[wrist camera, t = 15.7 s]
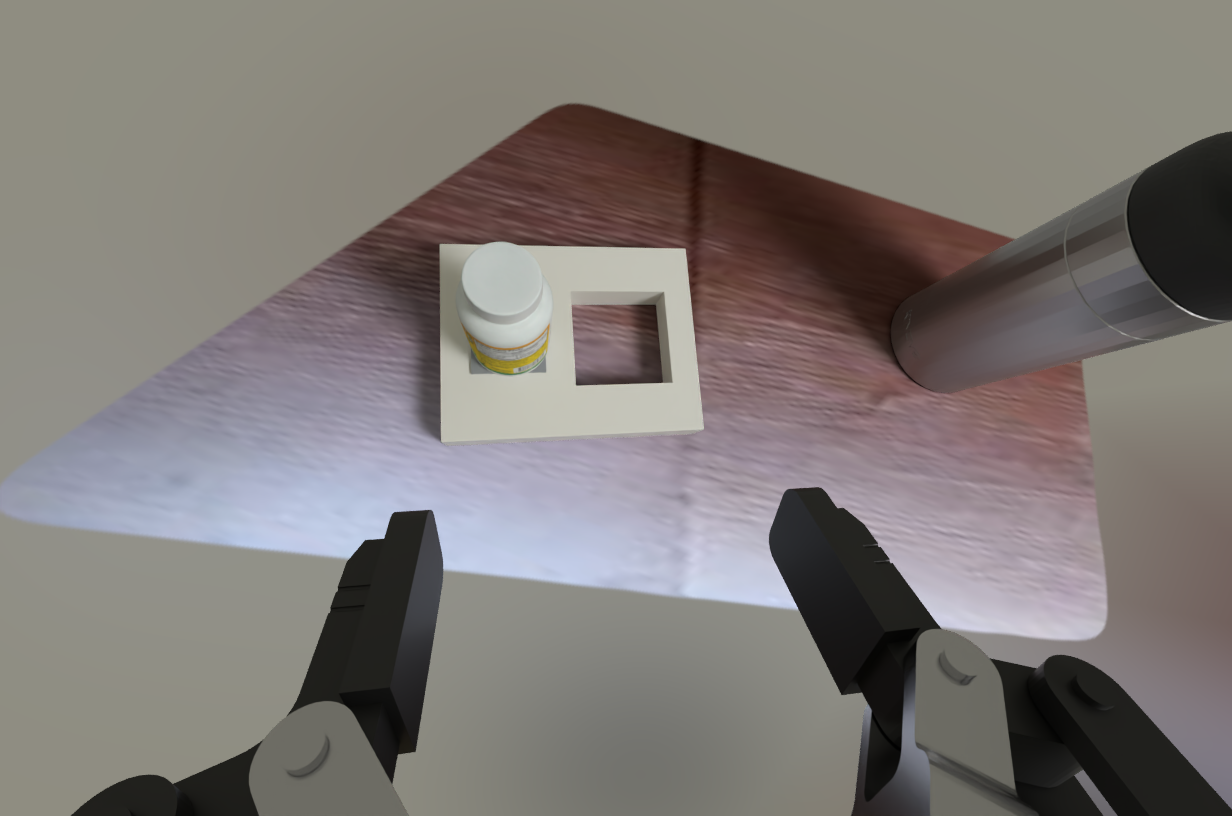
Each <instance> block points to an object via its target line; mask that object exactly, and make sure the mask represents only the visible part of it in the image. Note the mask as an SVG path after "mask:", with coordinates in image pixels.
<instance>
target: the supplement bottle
mask: <svg viewBox="0 0 1232 816" xmlns="http://www.w3.org/2000/svg"><path fill="white" fill-rule="evenodd" d="M456 309H457V313H458V316H459V319H460V321H461V324H462V327H463V330H464V332H465V334H466V337H467V339H468V341H469V344H470V347H471V349H472V351H473V353H474V355H475V357H476V358H477V360H478V361H479V363H480V364H481V365H482V366H483V367H484V368H486V369H487V370H489V371H491V372H492V373H495V374H498V375H502V376H509V377H512V376H520V375H523V374H526V373H528V372H530V371H532V370H534V369H535V368H536V367H537V366H539V365H540V363H541V362H542V361H543V360H544V358H545V356H546V354H547V352H548V349H549V343H550V334H551V324H552V315H553V295H552V291H551V288H550V285H549V283H548V281H547V280H546V278H545V277H544V275H543V274H542V272H541V269H540V266H539V264H538V263H537V261H536V259H535V258H534V257H533V256H532V255H531V254H530V253H529V252H528V251H527V250H525V249H524V248H522V247H520V246H518V245H516V244H513V243H508V242H492V243H488V244H485V245H482V246H480V247H479V248H477V249H476V250H474V251H473V252H472V253H471V254H470V255H469V256H468V258H467V259H466V261H465V263H464V265H463V268H462V274H461V280H460V282H459V285H458V288H457V291H456Z"/></svg>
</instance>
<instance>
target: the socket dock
mask: <svg viewBox="0 0 1232 816" xmlns="http://www.w3.org/2000/svg"><path fill="white" fill-rule="evenodd" d="M480 246H482V245H468V244H440V363H441V442H442V443H443V444H445V445H446V446H464V445H484V444H504V443H524V442H544V441H564V440H584V439H604V438H624V437H644V436H664V435H684V434H694V433H697V432H699V431H701V430H704V425H703V415H702V406H701V396H700V386H699V376H698V367H697V357H696V347H695V337H694V328H693V318H692V308H691V298H690V288H689V279H688V269H687V259H686V249H670V248H620V247H569V246H520V247H522V248H524V249H525V250H527V251H528V252H529V253H530V254H531V255H532V256H533V257H534V258H535V259H536V261H537V263H538V264H539V266H540V269H541V272H542V274H543V275H544V277H545V278H546V280H547V281H548V283H549V285H550V288H551V291H552V295H553V315H552V324H551V334H550V343H549V349H548V352H547V354H546V356H545V358H544V360H543V361H542V362H541V363H540V365H539V366H537V367H536V368H535V369H534V370H532V371H530V372H528V373H526V374H523V375H520V376H512V377H509V376H502V375H498V374H495V373H492V372H491V371H489V370H487V369H486V368H484V367H483V366H482V365H481V364H480V363H479V361H478V360H477V358H476V357H475V355H474V353H473V351H472V349H471V347H470V344H469V341H468V339H467V337H466V334H465V332H464V330H463V327H462V324H461V321H460V319H459V316H458V313H457V309H456V291H457V288H458V285H459V282H460V280H461V274H462V268H463V265H464V263H465V261H466V259H467V258H468V256H469V255H470V254H471V253H472V252H473V251H474V250H476V249H477V248H479V247H480ZM571 305H656V310H657V321H658V333H659V344H660V355H661V366H662V378H663V383H648V384H615V385H582V386H576V379H575V361H574V344H573V326H572V308H571Z"/></svg>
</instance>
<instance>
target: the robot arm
mask: <svg viewBox="0 0 1232 816" xmlns="http://www.w3.org/2000/svg"><path fill="white" fill-rule="evenodd" d="M1230 321H1232V132H1225V133H1220V134H1216V135H1214V136H1211V137H1208V138H1205V139H1202V140H1200V141H1197V142H1195V143H1193V144H1191V145H1189V146H1187V147H1185V148H1183V149H1181V150H1179V151H1178V152H1176V153H1174V154H1172V155H1170V156H1168V157H1166V158H1165V159H1163V160H1161V161H1159V162H1158V163H1155V164H1154V165H1152V166H1150V167H1148V168H1146V169H1144V170H1143V171H1141V172H1139V173H1137V174H1135V175H1133V176H1131V177H1130V178H1128V179H1126V180H1124V181H1122V182H1120V183H1118V184H1117V185H1115V186H1113V187H1111V188H1109V189H1107V190H1106V191H1104V192H1102V193H1100V194H1098V195H1096V196H1094V197H1093V198H1091V199H1089V200H1088V201H1086V202H1084V203H1082V204H1080V205H1078V206H1076V207H1075V208H1073V209H1071V210H1069V211H1067V212H1065V213H1063V214H1062V215H1060V216H1058V217H1056V218H1054V219H1053V220H1051V221H1049V222H1047V223H1045V224H1043V225H1041V226H1039V227H1038V228H1036V229H1034V230H1032V231H1030V232H1028V233H1027V234H1025V235H1023V236H1021V237H1019V238H1017V239H1015V240H1014V241H1012V242H1010V243H1008V244H1006V245H1004V246H1003V247H1001V248H999V249H997V250H995V251H993V252H991V253H990V254H988V255H986V256H984V257H982V258H980V259H978V260H977V261H975V262H973V263H971V264H969V265H967V266H966V267H964V268H962V269H960V270H958V271H956V272H954V273H953V274H951V275H949V276H947V277H945V278H943V279H941V280H939V281H938V282H936V283H934V284H932V285H930V286H928V287H927V288H925V289H923V290H921V291H919V292H918V293H916V294H914V295H912V296H910V297H908V298H907V299H906V300H905V301H903V302H902V303H901V304H900V306H899V307H898V309H897V310H896V312H895V314H894V317H893V320H892V325H891V342H892V346H893V349H894V353H895V355H896V357H897V359H898V361H899V363H900V365H901V366H902V368H903V369H904V370H905V372H906V373H907V374H908V375H909V376H910V377H911V378H912V379H913V380H914V381H916V382H917V383H919V384H920V385H922V386H923V387H925V388H927V389H930V390H932V391H936V392H941V393H952V392H957V391H961V390H965V389H969V388H973V387H977V386H981V385H985V384H989V383H992V382H997V381H1001V380H1005V379H1009V378H1013V377H1017V376H1021V375H1025V374H1028V373H1032V372H1036V371H1040V370H1044V369H1048V368H1052V367H1056V366H1060V365H1064V364H1067V363H1071V362H1075V361H1079V360H1083V359H1087V358H1091V357H1095V356H1098V355H1102V354H1106V353H1110V352H1114V351H1118V350H1122V349H1126V348H1130V347H1134V346H1137V345H1141V344H1145V343H1149V342H1153V341H1157V340H1161V339H1164V338H1168V337H1172V336H1175V335H1179V334H1183V333H1187V332H1191V331H1194V330H1199V329H1203V328H1207V327H1210V326H1214V325H1218V324H1222V323H1226V322H1230ZM769 545H770V551H771V554H772V557H773V559H774V561H775V563H776V565H777V567H778V569H779V571H780V573H781V575H782V577H783V579H784V581H785V583H786V585H787V587H788V589H789V591H790V593H791V595H792V597H793V599H794V601H795V603H796V605H797V607H798V609H799V611H800V613H801V615H802V617H803V619H804V621H805V623H806V625H807V627H808V629H809V631H810V633H811V635H812V637H813V639H814V641H815V643H816V644H817V647H818V649H819V651H820V653H821V655H822V657H823V659H824V661H825V663H826V665H827V667H828V669H829V671H830V673H831V675H832V677H833V679H834V681H835V683H836V685H837V687H838V689H839V691H840V693H841V695H847V694H854V693H861V692H862V693H863V695H864V697H865V699H866V701H867V703H868V705H867V706H866V708H865V711H864V716H863V726H862V735H861V745H860V755H859V764H858V773H857V782H856V792H855V801H854V806H853V810H852V814H851V816H1103V815H1102V813H1101V812H1100V811H1099V809H1098V808H1097V807H1096V805H1095V804H1094V802H1093V801H1092V800H1091V798H1090V797H1089V795H1088V794H1087V793H1086V791H1085V790H1084V788H1083V787H1082V786H1081V784H1080V783H1079V782H1078V780H1077V779H1076V777H1075V776H1074V775H1075V774H1077V773H1078V772H1080V771H1082V770H1084V771H1085V772H1086V774H1087V775H1088V776H1089V778H1090V779H1091V780H1092V782H1093V783H1094V784H1095V786H1096V787H1097V788H1098V790H1099V791H1100V792H1101V794H1102V795H1103V797H1104V798H1105V799H1106V801H1107V802H1108V803H1109V805H1110V806H1111V807H1112V809H1113V810H1114V811H1115V813H1116V814H1117V815H1118V816H1232V809H1231V808H1230V807H1229V806H1228V805H1227V804H1226V803H1225V802H1224V800H1223V799H1222V798H1221V797H1220V796H1219V795H1218V794H1217V793H1216V791H1215V790H1214V789H1213V788H1212V787H1211V786H1210V785H1209V784H1208V783H1207V782H1206V780H1205V779H1204V778H1203V777H1202V776H1201V775H1200V774H1199V773H1198V772H1197V770H1196V769H1195V768H1194V767H1193V766H1192V765H1191V764H1190V763H1189V762H1188V760H1187V759H1186V758H1185V757H1184V756H1183V755H1182V754H1181V753H1180V752H1179V750H1178V749H1177V748H1176V747H1175V746H1174V745H1173V744H1172V743H1171V742H1170V740H1169V739H1168V738H1167V737H1166V736H1165V735H1164V734H1163V733H1162V732H1161V731H1160V730H1159V728H1158V727H1157V726H1156V725H1155V724H1154V723H1153V722H1152V721H1151V719H1150V718H1149V717H1148V716H1147V715H1146V714H1145V713H1144V712H1143V711H1142V709H1141V708H1140V707H1139V706H1138V705H1137V704H1136V703H1135V702H1134V701H1133V700H1132V698H1131V697H1130V696H1129V695H1128V694H1127V693H1126V692H1125V691H1124V690H1123V689H1122V688H1121V687H1120V686H1119V684H1117V683H1116V682H1115V681H1114V680H1113V679H1112V678H1110V677H1109V676H1108V675H1106V674H1105V673H1104V672H1102V671H1101V670H1099V669H1098V668H1096V667H1095V666H1093V665H1091V664H1089V663H1087V662H1085V661H1083V660H1080V659H1078V658H1075V657H1071V656H1066V655H1055V656H1052V657H1049V658H1048V659H1047V660H1046V661H1045V662H1044V663H1043V664H1041V665H1040V667H1038V668H1032V667H1027V666H1022V665H1018V664H1013V663H1009V662H1004V661H1000V660H995V659H991V658H989V657H988V656H987V655H986V654H985V653H984V652H983V651H982V650H981V649H980V648H978V647H977V646H976V645H974V644H973V643H972V642H971V641H969V640H967V639H966V638H964V637H962V636H960V635H958V634H956V633H953V632H951V631H947V630H943V629H941V628H940V626H939V625H938V624H937V623H936V622H935V620H934V619H933V617H932V616H931V615H930V613H929V612H928V611H927V609H926V608H925V607H924V605H923V604H922V603H921V601H920V600H919V598H918V597H917V596H916V594H915V593H914V592H913V590H912V589H911V588H910V586H909V585H908V584H907V582H906V581H905V579H904V578H903V577H902V575H901V574H900V573H899V571H898V570H897V569H896V567H895V566H894V564H893V563H890V561H889V558H888V556H887V555H886V554H885V552H884V551H883V550H882V548H881V547H878V543H877V541H876V540H875V539H874V537H873V536H872V535H871V533H870V532H869V530H868V529H867V528H866V526H865V525H864V524H863V523H862V522H860V521H859V520H858V519H857V518H855V517H854V516H853V515H852V514H850V513H849V512H848V511H847V510H845V509H844V508H837V507H836V506H835V504H834V503H833V502H832V500H831V499H830V497H829V496H828V494H827V493H826V492H825V491H824V490H823V489H822V488H819V487H814V488H798V489H788V490H786V491H785V493H784V495H783V497H782V500H781V503H780V505H779V508H778V511H777V514H776V516H775V519H774V522H773V524H772V527H771V530H770V534H769ZM442 582H443V557H442V552H441V547H440V542H439V537H438V532H437V527H436V523H435V518H434V514H433V511H432V510H422V511H406V512H394V513H393V514H392V516H391V518H390V521H389V525H388V528H387V531H386V535H385V538H384V539H375V540H365V541H364V542H363V544H362V545H361V546H360V547H359V548H358V550H357V551H356V552H355V553H354V554H353V555H352V557H351V558H350V559H349V560H348V561H347V563H346V566H345V568H344V571H343V574H342V577H341V580H340V582H339V585H338V592H336V594H335V596H334V599H333V602H332V605H331V611H330V613H329V614H328V616H327V619H326V621H325V624H324V627H323V630H322V633H321V636H320V638H319V641H318V644H317V647H316V650H315V652H314V655H313V658H312V661H311V664H310V666H309V669H308V672H307V675H306V678H305V680H304V683H303V686H302V689H301V691H300V694H299V696H298V698H297V701H296V703H295V704H294V706H293V708H292V709H291V711H290V712H289V714H288V715H287V717H286V718H284V719H283V720H282V721H280V722H279V723H278V724H277V725H276V726H275V727H274V728H273V729H272V730H271V731H270V733H269V734H268V735H267V736H266V737H265V739H264V740H263V741H261V742H260V743H258V744H257V745H255V746H254V747H252V748H251V749H249V750H248V751H246V752H244V753H242V754H240V755H238V756H236V757H234V758H231V759H229V760H227V761H225V762H222V763H220V764H218V765H215V766H213V767H211V768H208V769H206V770H204V771H202V772H199V773H197V774H195V775H192V776H190V777H188V778H186V779H183V780H181V781H179V782H177V783H174V784H172V783H171V782H170V781H168V780H167V779H166V778H164V777H161V776H158V775H141V776H136V777H132V778H128V779H126V780H124V781H121V782H118V783H116V784H114V785H112V786H110V787H109V788H107V789H105V790H104V791H102V792H100V793H99V794H97V795H96V796H94V797H93V798H91V799H90V800H89V801H87V802H86V803H85V804H84V805H82V806H81V807H80V808H79V809H78V810H77V811H76V812H74V814H72V815H71V816H409V815H408V813H407V811H406V809H405V808H404V806H403V804H402V802H401V800H400V798H399V796H398V795H397V793H396V791H395V789H394V787H393V785H392V783H393V778H394V772H395V767H396V761H397V756H398V754H403V753H411V752H415V751H416V746H417V740H418V733H419V726H420V721H421V714H422V708H423V702H424V695H425V689H426V682H427V676H428V671H429V664H430V658H431V651H432V646H433V639H434V633H435V627H436V620H437V614H438V608H439V602H440V595H441V589H442Z"/></svg>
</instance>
